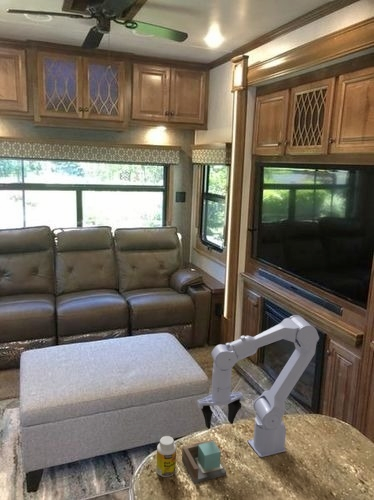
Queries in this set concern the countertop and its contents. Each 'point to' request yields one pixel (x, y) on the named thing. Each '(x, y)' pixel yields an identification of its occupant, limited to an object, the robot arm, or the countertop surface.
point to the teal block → (209, 455)
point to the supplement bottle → (166, 457)
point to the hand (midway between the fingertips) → (219, 424)
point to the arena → (198, 464)
